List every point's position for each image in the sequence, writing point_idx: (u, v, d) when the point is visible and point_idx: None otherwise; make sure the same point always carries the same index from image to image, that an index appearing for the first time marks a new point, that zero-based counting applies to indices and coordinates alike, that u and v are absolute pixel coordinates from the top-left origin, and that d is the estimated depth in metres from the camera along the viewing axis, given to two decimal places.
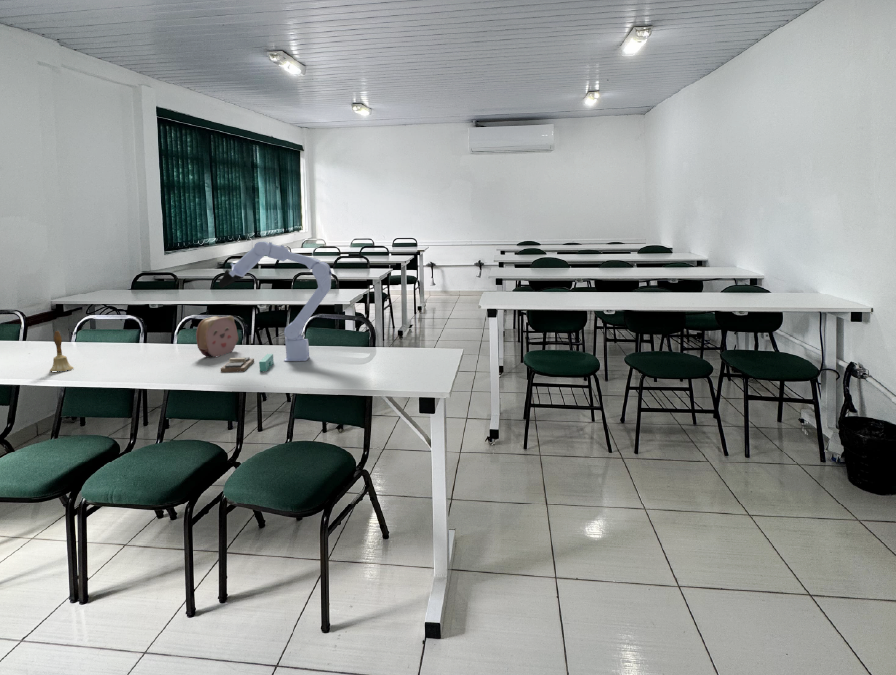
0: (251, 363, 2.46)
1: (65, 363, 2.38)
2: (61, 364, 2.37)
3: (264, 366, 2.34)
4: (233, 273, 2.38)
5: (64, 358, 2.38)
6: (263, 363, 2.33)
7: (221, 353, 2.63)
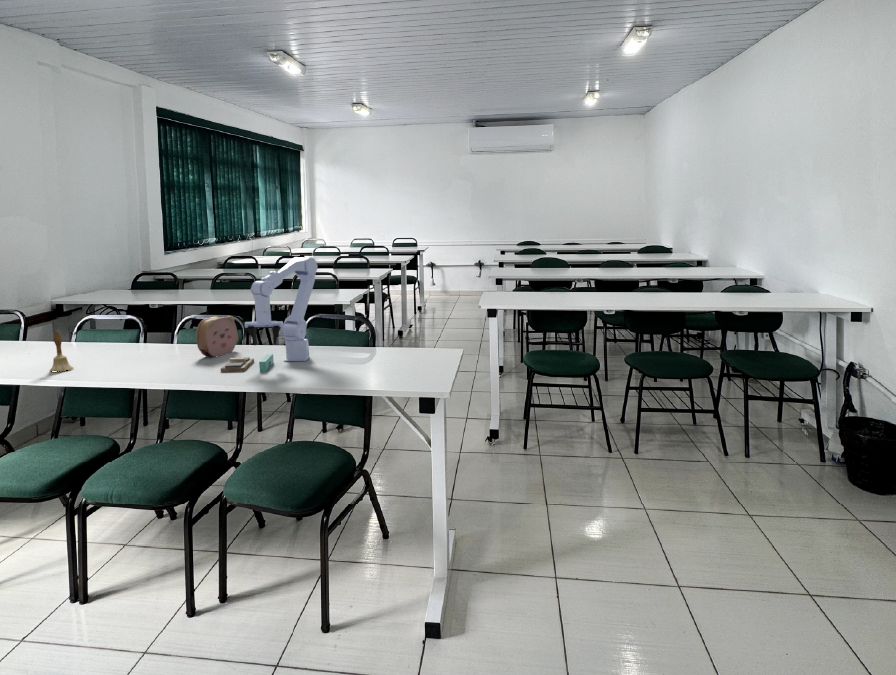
0: (251, 363, 2.46)
1: (65, 363, 2.38)
2: (61, 364, 2.37)
3: (264, 366, 2.34)
4: (282, 323, 2.38)
5: (64, 358, 2.38)
6: (263, 363, 2.33)
7: (221, 353, 2.63)
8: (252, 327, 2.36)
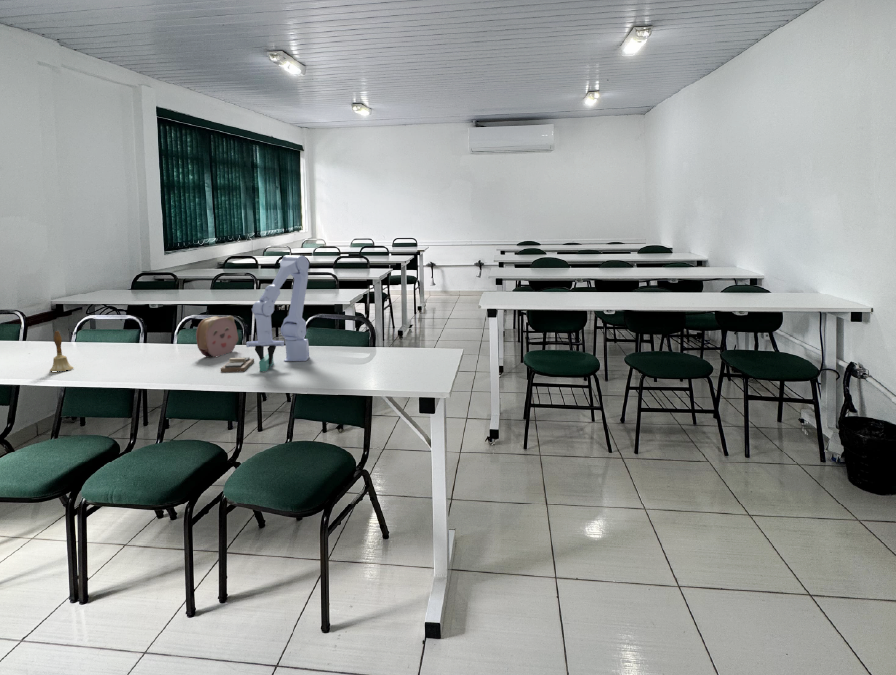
0: (251, 363, 2.46)
1: (65, 363, 2.38)
2: (61, 364, 2.37)
3: (264, 366, 2.34)
4: (283, 342, 2.40)
5: (64, 358, 2.38)
6: (263, 363, 2.33)
7: (221, 353, 2.63)
8: None
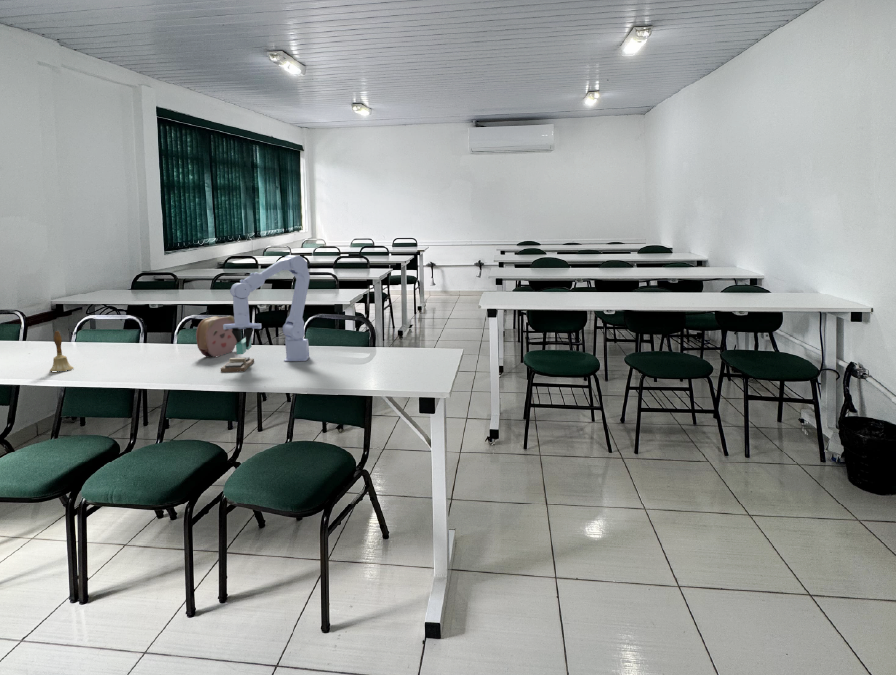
0: (251, 363, 2.46)
1: (65, 363, 2.38)
2: (61, 364, 2.37)
3: (241, 349, 2.33)
4: None
5: (64, 358, 2.38)
6: (240, 346, 2.33)
7: (221, 353, 2.63)
8: None
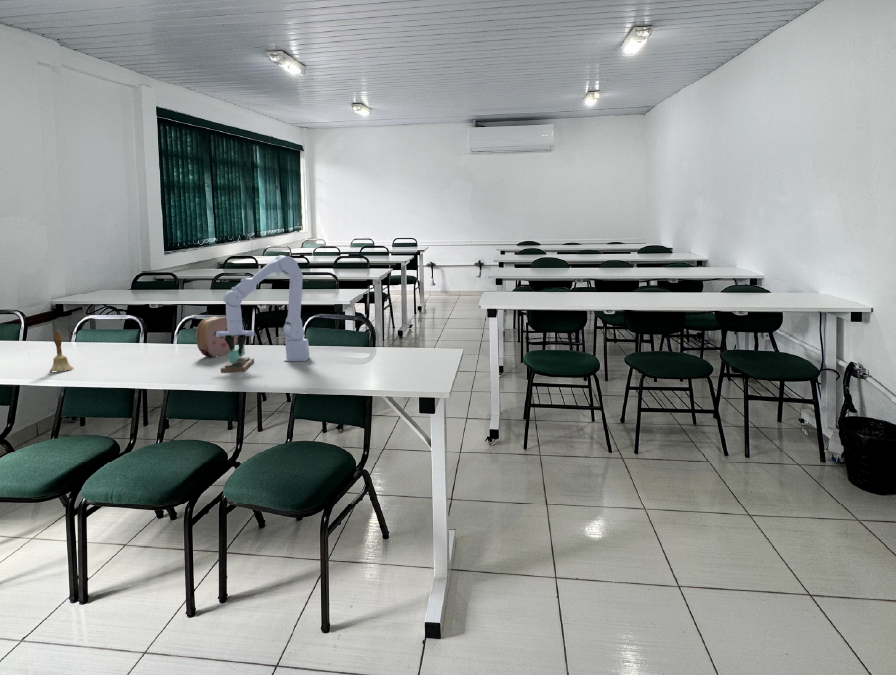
0: (251, 363, 2.46)
1: (65, 363, 2.38)
2: (61, 364, 2.37)
3: (234, 356, 2.34)
4: (253, 332, 2.40)
5: (64, 358, 2.38)
6: (233, 353, 2.34)
7: (221, 353, 2.63)
8: None
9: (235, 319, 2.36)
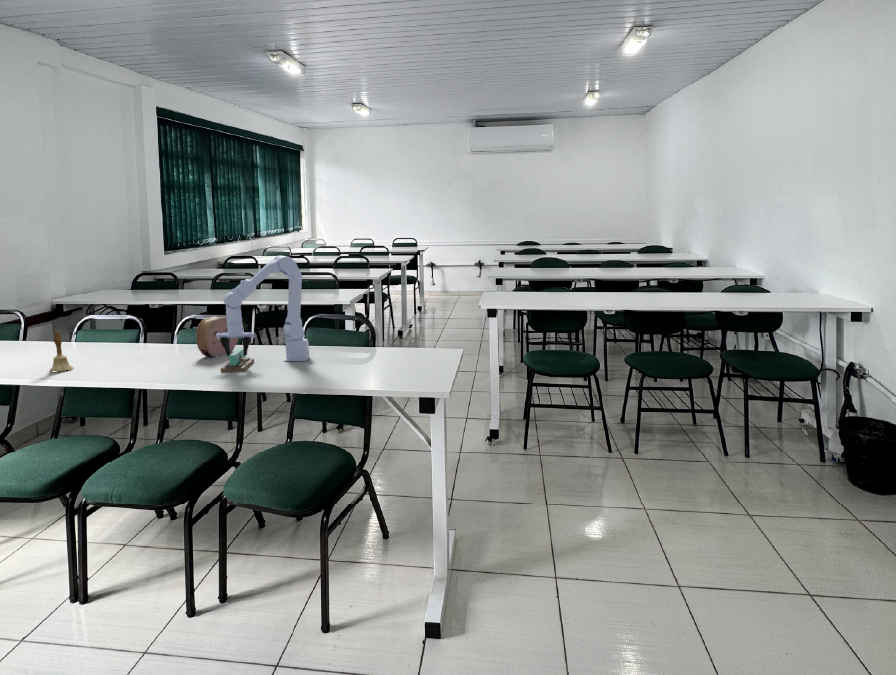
0: (251, 363, 2.46)
1: (65, 363, 2.38)
2: (61, 364, 2.37)
3: (234, 360, 2.35)
4: None
5: (64, 358, 2.38)
6: (233, 357, 2.34)
7: (221, 353, 2.63)
8: (224, 338, 2.38)
9: (235, 321, 2.36)
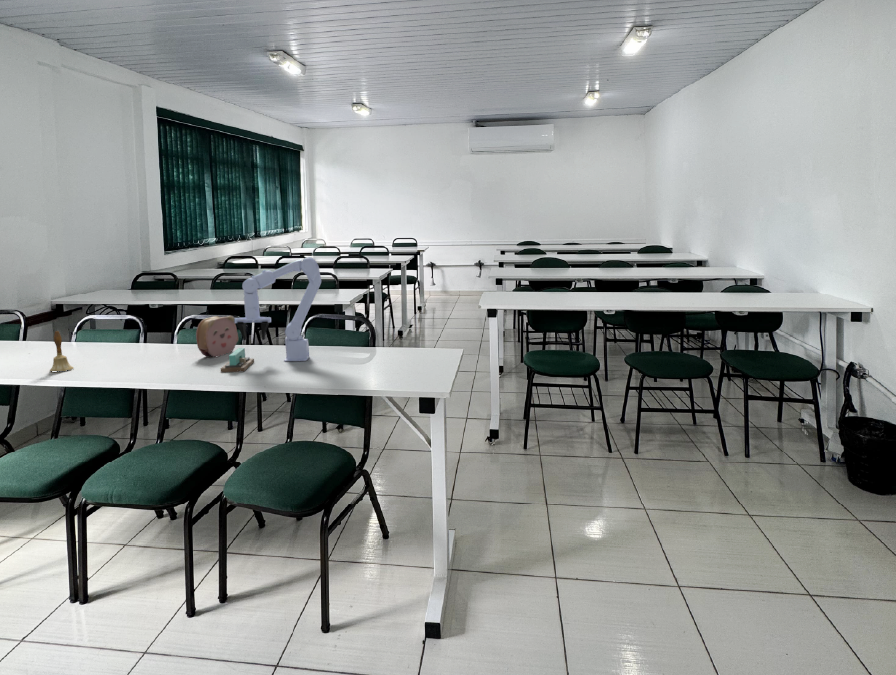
0: (251, 363, 2.46)
1: (65, 363, 2.38)
2: (61, 364, 2.37)
3: (234, 360, 2.35)
4: (270, 318, 2.48)
5: (64, 358, 2.38)
6: (233, 357, 2.34)
7: (221, 353, 2.63)
8: (241, 323, 2.47)
9: (250, 306, 2.44)
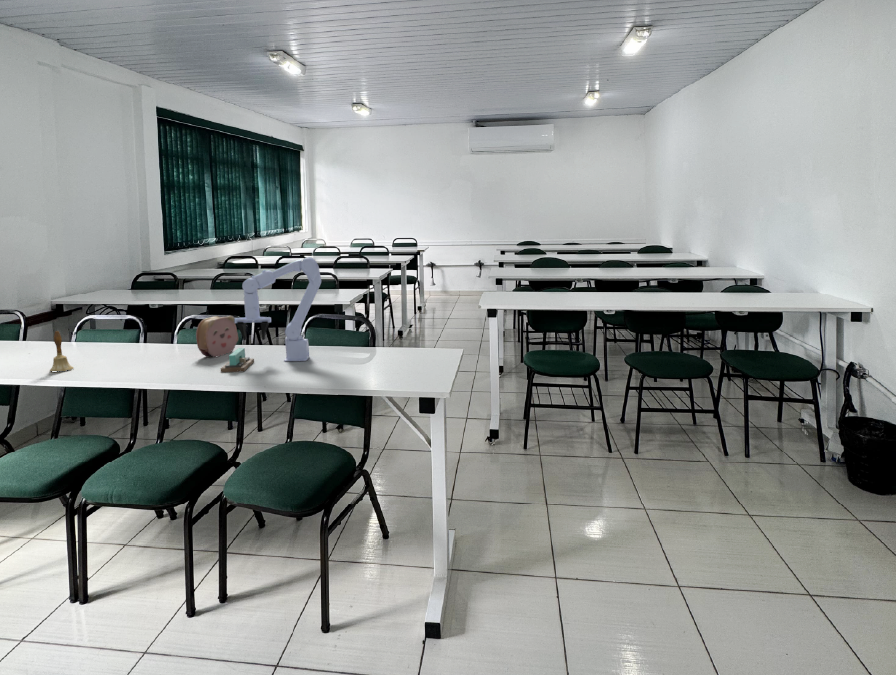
0: (251, 363, 2.46)
1: (65, 363, 2.38)
2: (61, 364, 2.37)
3: (234, 360, 2.35)
4: (270, 318, 2.48)
5: (64, 358, 2.38)
6: (233, 357, 2.34)
7: (221, 353, 2.63)
8: (241, 323, 2.47)
9: (250, 306, 2.44)
